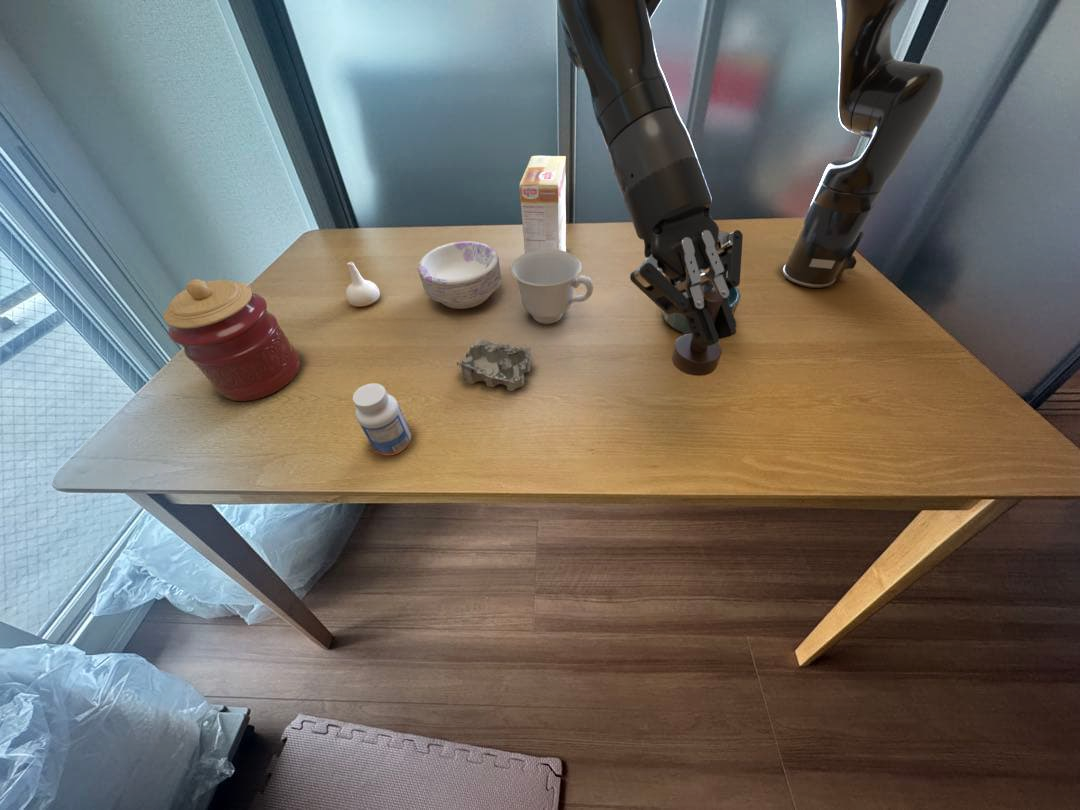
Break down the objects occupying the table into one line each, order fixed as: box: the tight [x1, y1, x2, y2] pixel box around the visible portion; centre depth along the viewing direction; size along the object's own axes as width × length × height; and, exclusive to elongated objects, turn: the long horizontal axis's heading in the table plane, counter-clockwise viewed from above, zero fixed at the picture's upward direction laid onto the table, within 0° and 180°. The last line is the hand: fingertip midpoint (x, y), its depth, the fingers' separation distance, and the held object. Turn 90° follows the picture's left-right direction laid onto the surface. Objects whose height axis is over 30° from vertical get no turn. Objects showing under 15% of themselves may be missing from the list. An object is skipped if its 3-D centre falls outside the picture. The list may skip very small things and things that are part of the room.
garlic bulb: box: [345, 261, 381, 307], centre depth 81 cm, size 6×6×8 cm
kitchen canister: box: [163, 279, 301, 402], centre depth 63 cm, size 13×13×18 cm
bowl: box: [661, 278, 742, 335], centre depth 73 cm, size 12×12×6 cm
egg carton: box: [456, 339, 532, 392], centre depth 66 cm, size 11×8×4 cm
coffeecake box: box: [518, 155, 567, 254], centre depth 83 cm, size 15×7×20 cm, turn 172°
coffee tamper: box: [671, 292, 723, 377], centre depth 44 cm, size 5×5×8 cm
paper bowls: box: [417, 240, 502, 310], centre depth 81 cm, size 15×15×8 cm
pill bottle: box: [352, 382, 412, 456], centre depth 55 cm, size 6×5×10 cm
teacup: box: [510, 249, 594, 325], centre depth 74 cm, size 12×15×10 cm
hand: (718, 340), depth 43 cm, fingers closed on coffee tamper
